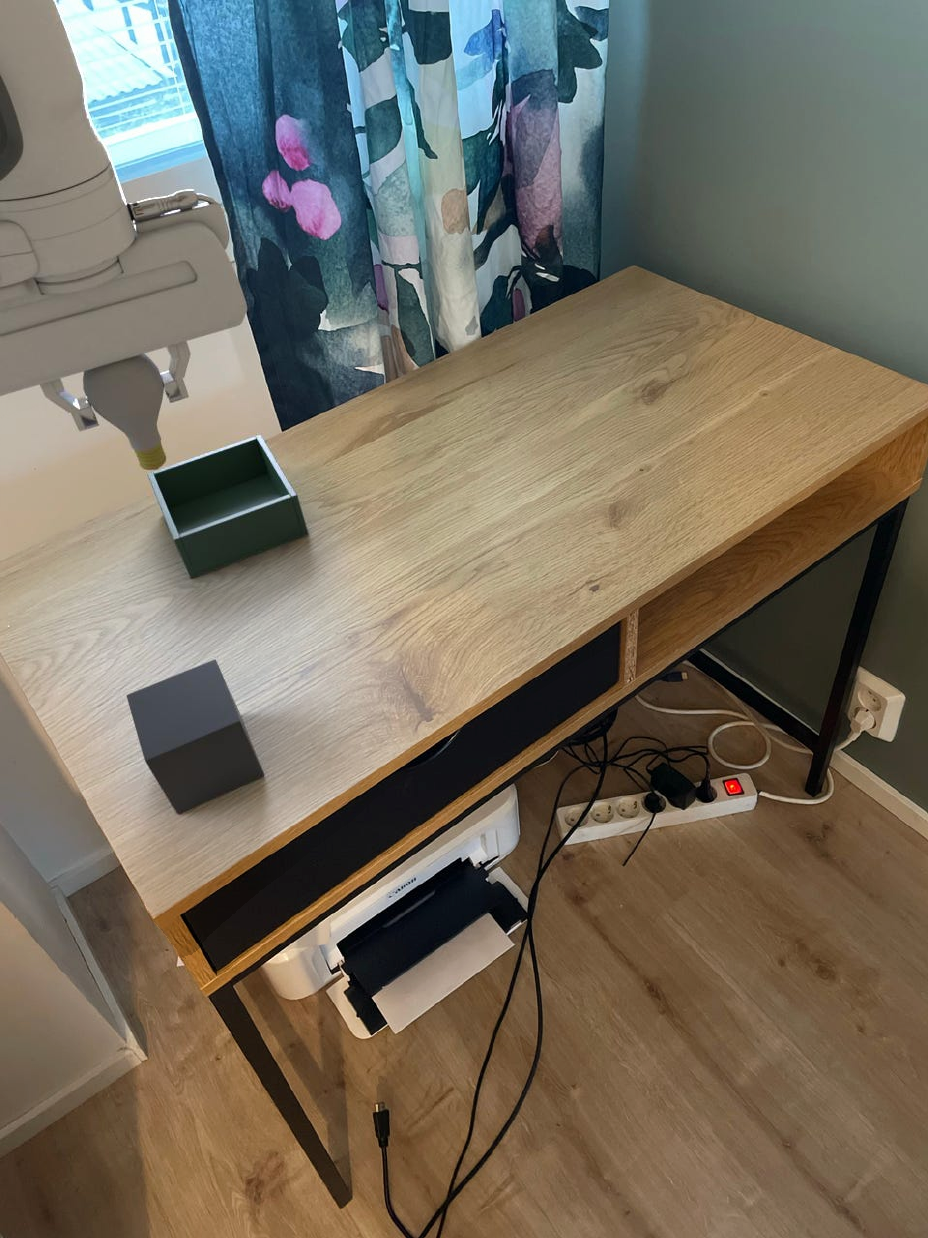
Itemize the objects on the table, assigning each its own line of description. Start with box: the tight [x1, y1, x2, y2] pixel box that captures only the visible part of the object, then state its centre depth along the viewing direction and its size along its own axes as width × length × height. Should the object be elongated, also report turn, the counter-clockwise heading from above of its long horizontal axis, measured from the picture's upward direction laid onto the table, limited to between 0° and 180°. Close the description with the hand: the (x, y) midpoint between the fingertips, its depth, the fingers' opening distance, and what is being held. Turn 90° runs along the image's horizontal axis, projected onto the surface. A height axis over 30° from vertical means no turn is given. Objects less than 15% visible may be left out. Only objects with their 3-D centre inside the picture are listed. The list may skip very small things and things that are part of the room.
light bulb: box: [82, 353, 167, 471], centre depth 67 cm, size 6×6×10 cm
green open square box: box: [146, 434, 309, 580], centre depth 90 cm, size 12×12×5 cm
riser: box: [126, 659, 265, 815], centre depth 68 cm, size 7×7×7 cm
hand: (133, 411), depth 67 cm, fingers closed on light bulb, 5 cm apart
